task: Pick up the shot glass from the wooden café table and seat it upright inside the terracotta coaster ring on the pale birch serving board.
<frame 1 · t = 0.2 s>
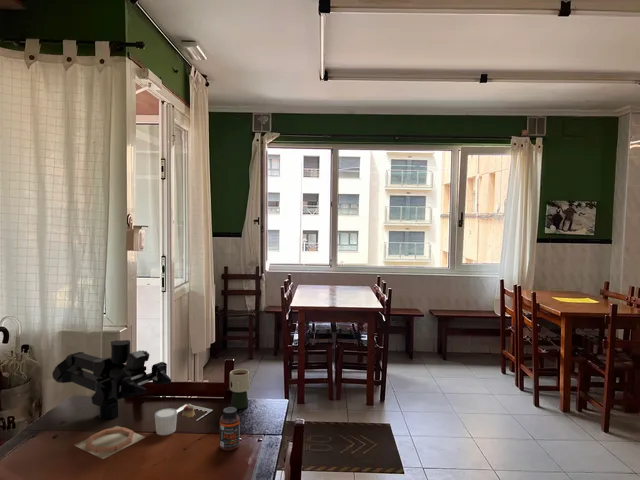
hand: (158, 385, 133), 17 cm above the table, tool horizontal, fingers open, 9 cm apart
shot glass: (166, 434, 136), on the table
serving board: (110, 444, 129), on the table
supplement bottle: (229, 446, 130), on the table
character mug: (239, 407, 156), on the table
coaster ring: (110, 441, 129), resting on serving board
dessert: (188, 417, 149), on the table
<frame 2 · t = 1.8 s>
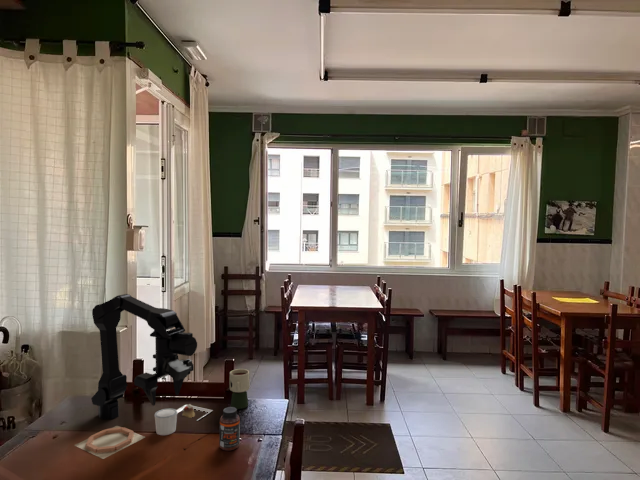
hand: (165, 399, 136), 11 cm above the table, tool pointing down, fingers open, 9 cm apart
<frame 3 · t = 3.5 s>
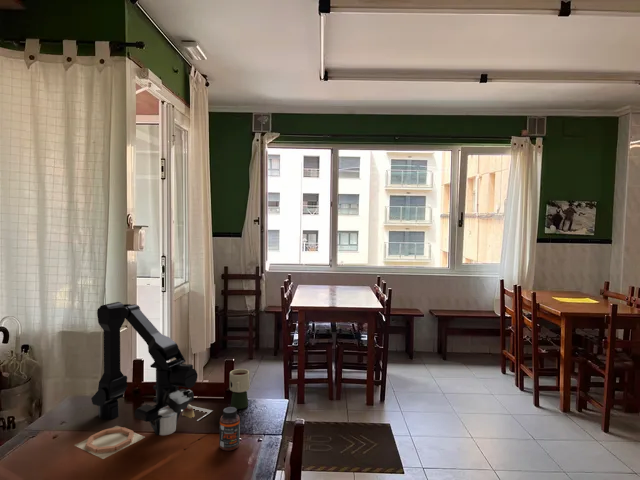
hand: (165, 430, 136), 1 cm above the table, tool pointing down, fingers closed on shot glass, 6 cm apart
shot glass: (166, 434, 136), on the table, touching gripper
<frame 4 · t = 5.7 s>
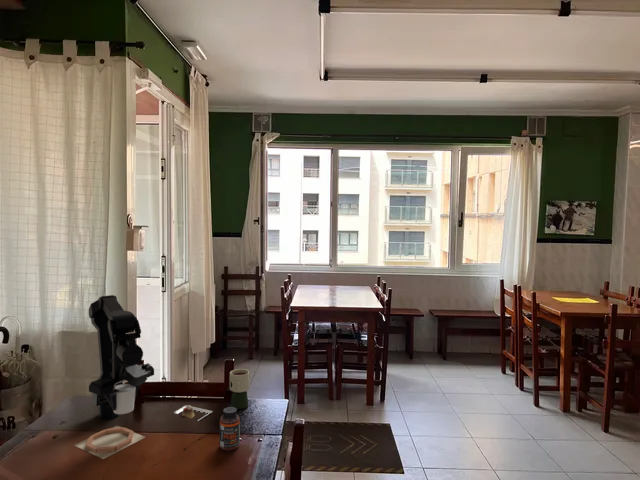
hand: (123, 406, 131), 11 cm above the table, tool pointing down, fingers closed on shot glass, 6 cm apart
shot glass: (123, 410, 131), point 10 cm above the table, touching gripper
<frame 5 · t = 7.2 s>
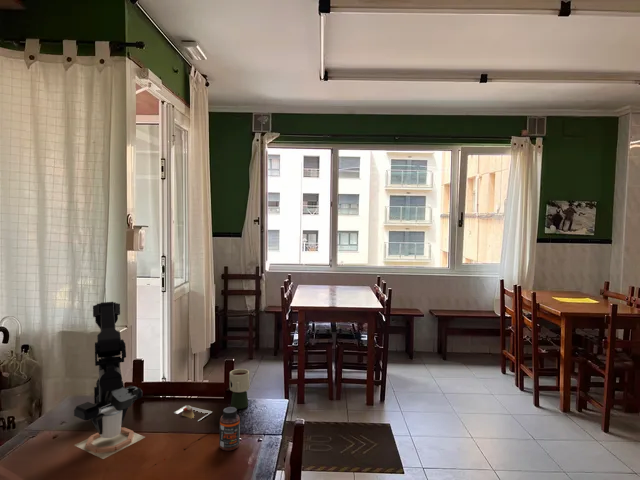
hand: (110, 429, 129), 5 cm above the table, tool pointing down, fingers closed on shot glass, 6 cm apart
shot glass: (110, 434, 129), point 3 cm above the table, touching gripper
when the fingers open (4 cm above the table, at t = 8.3 s): shot glass drops 1 cm, resting on serving board.
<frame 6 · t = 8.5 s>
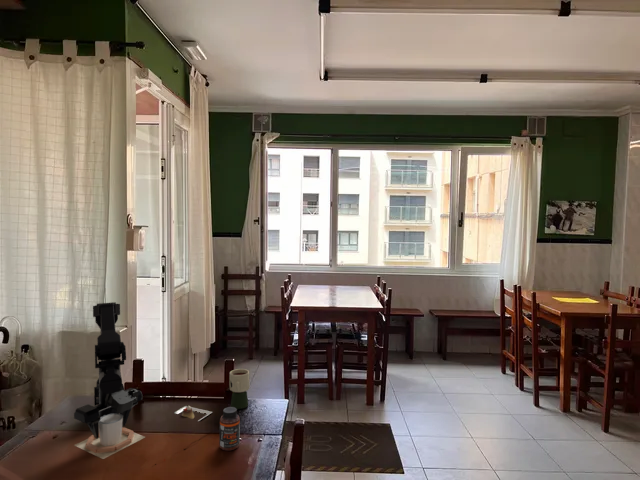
hand: (110, 431, 129), 4 cm above the table, tool pointing down, fingers open, 8 cm apart
shot glass: (110, 441, 129), point 1 cm above the table, touching serving board
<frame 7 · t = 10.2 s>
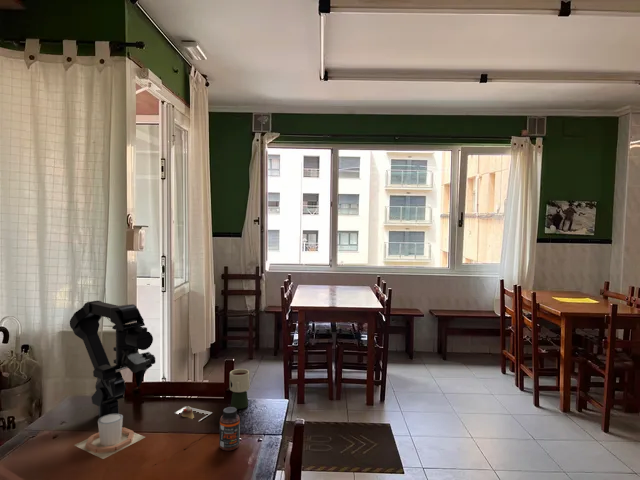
hand: (126, 391, 140), 12 cm above the table, tool pointing down, fingers open, 9 cm apart
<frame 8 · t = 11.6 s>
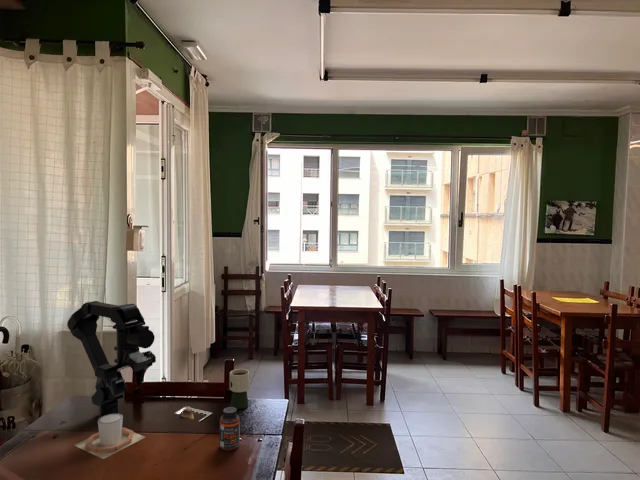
hand: (127, 390, 140), 12 cm above the table, tool pointing down, fingers open, 9 cm apart
at the end: shot glass 0.1 cm off-centre on the serving board, point 1.0 cm above the serving board's base; shot glass tilted 0°; the gripper is holding nothing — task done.
